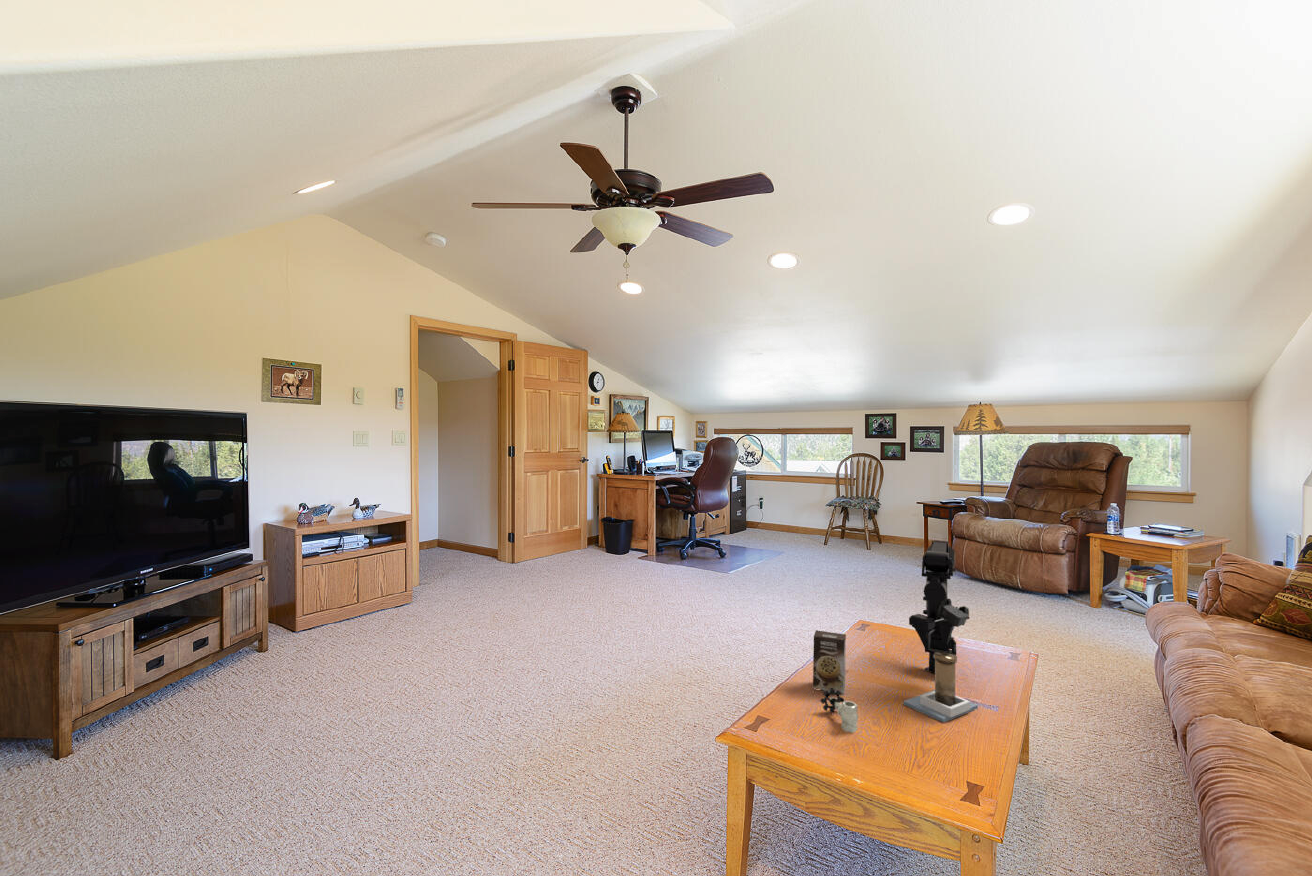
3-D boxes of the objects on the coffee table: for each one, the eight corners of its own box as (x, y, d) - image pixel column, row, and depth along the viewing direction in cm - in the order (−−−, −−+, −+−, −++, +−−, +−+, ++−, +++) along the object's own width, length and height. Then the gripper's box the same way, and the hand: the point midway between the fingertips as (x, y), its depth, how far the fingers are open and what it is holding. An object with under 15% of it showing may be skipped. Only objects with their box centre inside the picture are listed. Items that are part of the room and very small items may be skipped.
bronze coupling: (935, 699, 161) (935, 650, 161) (958, 705, 158) (958, 654, 158) (931, 707, 156) (932, 656, 156) (955, 713, 153) (955, 660, 153)
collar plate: (937, 692, 168) (937, 681, 168) (979, 709, 157) (979, 697, 157) (903, 704, 160) (903, 693, 160) (945, 723, 149) (945, 711, 149)
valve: (865, 732, 144) (842, 710, 156) (865, 706, 144) (842, 686, 156) (841, 734, 143) (820, 712, 155) (841, 708, 143) (820, 688, 155)
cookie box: (812, 690, 169) (812, 635, 169) (814, 681, 175) (815, 629, 175) (844, 695, 166) (844, 640, 166) (845, 686, 172) (846, 633, 172)
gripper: (943, 605, 158) (943, 661, 158) (981, 596, 168) (981, 649, 167) (907, 596, 168) (907, 648, 167) (945, 588, 177) (945, 638, 177)
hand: (936, 646), depth 170 cm, fingers open, 9 cm apart
